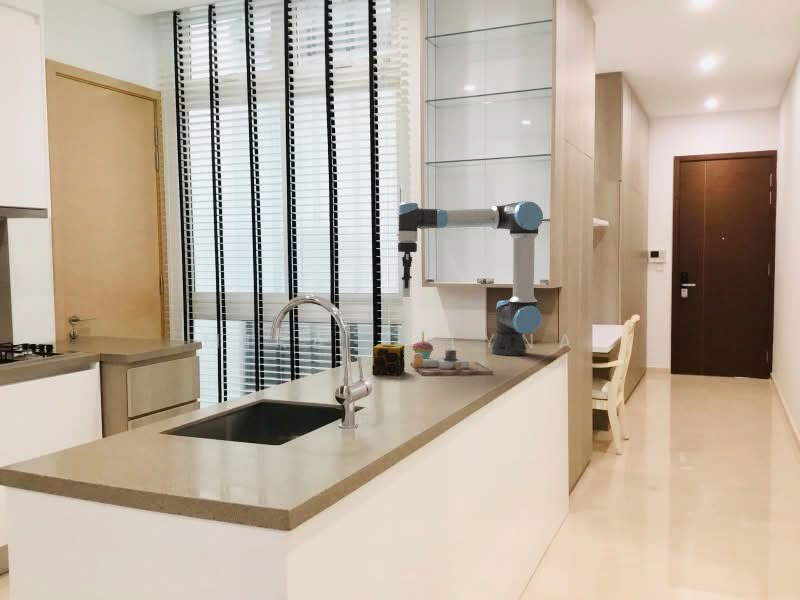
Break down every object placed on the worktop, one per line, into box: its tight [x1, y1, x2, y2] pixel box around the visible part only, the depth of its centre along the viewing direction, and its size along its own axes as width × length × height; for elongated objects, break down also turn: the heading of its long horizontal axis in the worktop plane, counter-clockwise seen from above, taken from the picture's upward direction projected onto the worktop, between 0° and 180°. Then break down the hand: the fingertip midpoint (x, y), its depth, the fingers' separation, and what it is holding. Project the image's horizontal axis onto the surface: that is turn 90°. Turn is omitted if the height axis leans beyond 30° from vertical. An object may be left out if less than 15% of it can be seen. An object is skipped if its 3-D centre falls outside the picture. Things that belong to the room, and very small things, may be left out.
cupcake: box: [411, 331, 434, 359], centre depth 295 cm, size 9×8×12 cm
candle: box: [371, 343, 406, 377], centre depth 260 cm, size 10×10×10 cm
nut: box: [412, 352, 470, 369], centre depth 269 cm, size 20×11×5 cm, turn 100°
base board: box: [410, 349, 494, 376], centre depth 269 cm, size 26×22×7 cm
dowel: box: [456, 362, 462, 371], centre depth 261 cm, size 2×2×3 cm
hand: (406, 295), depth 288 cm, fingers open, 13 cm apart
